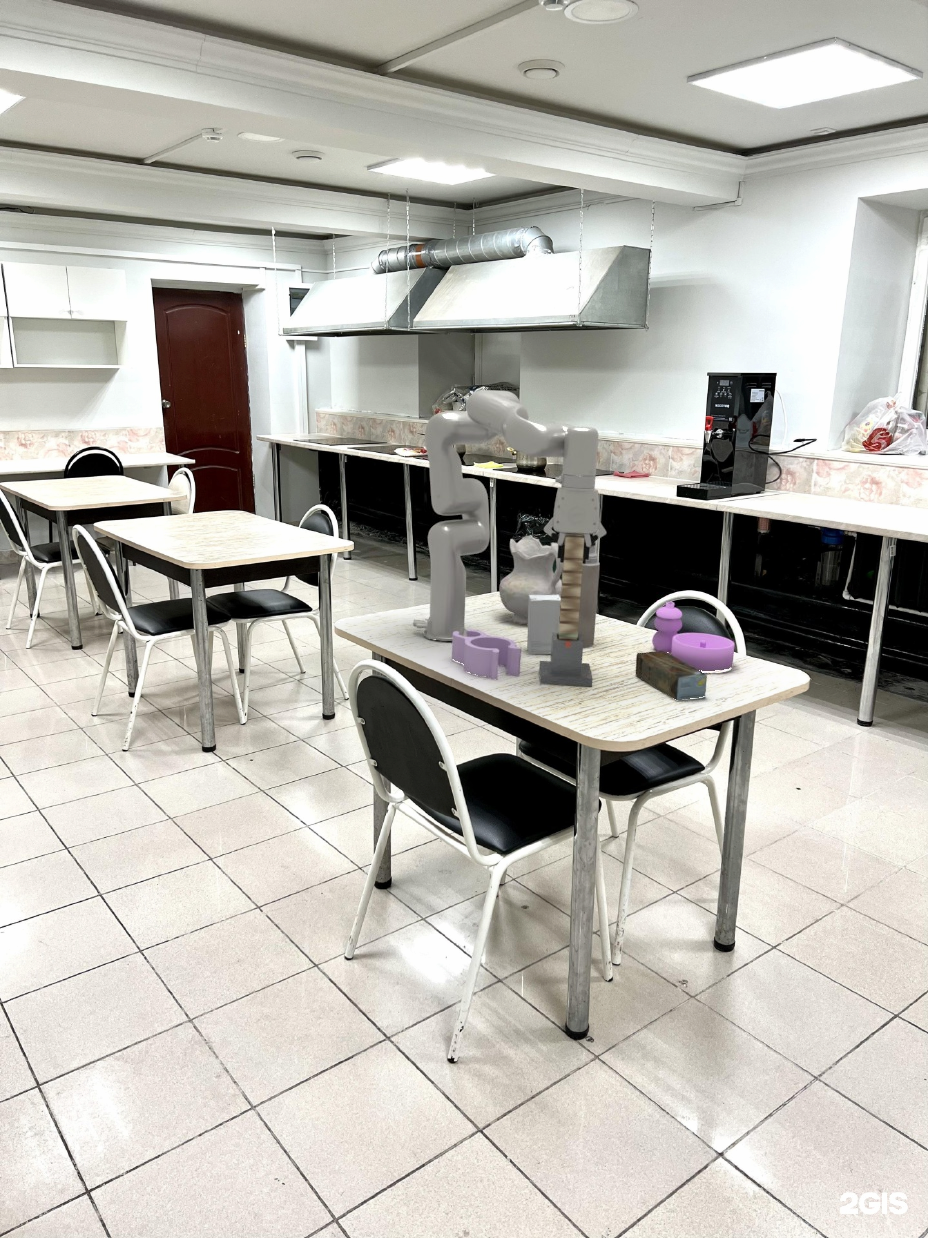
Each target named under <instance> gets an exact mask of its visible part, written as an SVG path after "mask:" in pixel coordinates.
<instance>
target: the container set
mask: <svg viewBox="0 0 928 1238" xmlns="http://www.w3.org/2000/svg"><path fill="white" fill-rule="evenodd" d="M655 614H656V616H657V617H655V619H654V620H653V623H654V627H655V629H656V630H658V631H656V632H655V633H654V635H653V636H652V640H651V641H652V642H651V643H652V646H653V647H654V649H655V650H656V652H657V651H665V652H669V654H671V655H673V656H674V657H676V658H678V659H680V660H682V661H683V662H685V663H687V664H689V665H690V666H692V667H694V668H695V669H697V670H700V671H701V670H702V671H715V670H724V669H729V668H730V667H732V668H733V662H734V654H735V645H736V644H735V642H734V641H733V640H732V639H729V638H727V637H724V636H720V635H717V634H710V633H702V632H683V633H678V632H679V631H680V630H681V629H682V627H683V621H682V619H681V618H682V616H683V612H682V611H681V609H679V608H677V607H675V602H673V601H666V602H665V606H662V607H659V608H657V610H656V612H655Z"/></svg>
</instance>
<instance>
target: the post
mask: <svg viewBox="0 0 928 1238" xmlns="http://www.w3.org/2000/svg"><path fill="white" fill-rule="evenodd" d="M584 540H585V537H584V534H573V533H566V534H565V538H564V541H563V542H564V545H565V550H564V562H563V567H562V574H561V579H560V580H561V582H562V587H561V603H560V616H559V628H558V635H559V639H574V640H577V638H578V624H579V621H578V620H579V612H580V609H579V606H580V598H581V596H580V592H581V578H582V563H583V549H584Z"/></svg>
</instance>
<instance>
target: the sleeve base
mask: <svg viewBox="0 0 928 1238" xmlns="http://www.w3.org/2000/svg"><path fill="white" fill-rule="evenodd" d="M583 651H584V647H583V637H582V634H578V638H577V640H574V639H559V635H558V633H555V632H552V646H551V654H550V660H549V661H548V660H539V665H538V666H539V684H540V685H552V686H553V685H555V686H570V687H571V686H572V687H590V688H593V679H594V678H593V674H592V670H591V665H590V663H587V662H583V653H584V652H583Z"/></svg>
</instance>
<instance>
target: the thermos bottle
mask: <svg viewBox="0 0 928 1238" xmlns="http://www.w3.org/2000/svg"><path fill="white" fill-rule="evenodd" d="M584 542H585V539H584ZM595 546H596V541H595V542H594V543H593V544H592V545H591V546H590V549H589V560H586V564H583V563H582V578H581V592H580V596H581V598H580V606H579V609H580V612H579V620H578V621H579V624H578V634H582V637H583V648H589V647H594V645H595V644H594V642H595V634H596V633H595V632H596V631H595V630H596V618H597V617H596V616H597V606H598V605H597V604H598V590H599V579H600V562H598V559H599V556H598V554H597V552H595V551H596V547H595Z"/></svg>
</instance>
